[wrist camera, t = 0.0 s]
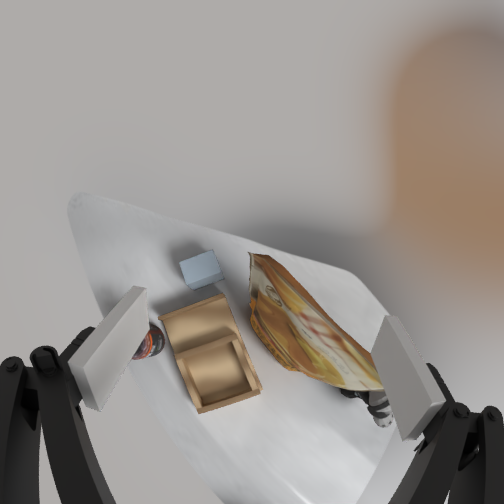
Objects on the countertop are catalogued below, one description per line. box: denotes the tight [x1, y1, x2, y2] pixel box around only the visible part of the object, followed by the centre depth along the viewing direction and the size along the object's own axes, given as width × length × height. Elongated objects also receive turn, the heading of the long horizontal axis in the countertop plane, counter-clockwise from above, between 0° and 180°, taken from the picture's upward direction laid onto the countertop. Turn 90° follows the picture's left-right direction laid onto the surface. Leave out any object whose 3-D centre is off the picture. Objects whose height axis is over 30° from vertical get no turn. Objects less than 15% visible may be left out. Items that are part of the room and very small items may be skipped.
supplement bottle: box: [132, 324, 165, 360], centre depth 43 cm, size 6×6×11 cm
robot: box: [341, 388, 393, 428], centre depth 37 cm, size 20×5×20 cm, turn 33°
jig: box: [158, 293, 263, 414], centre depth 46 cm, size 18×12×4 cm, turn 22°
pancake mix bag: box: [248, 252, 385, 392], centre depth 36 cm, size 7×19×28 cm, turn 37°
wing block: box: [179, 250, 224, 290], centre depth 49 cm, size 4×6×6 cm, turn 112°
